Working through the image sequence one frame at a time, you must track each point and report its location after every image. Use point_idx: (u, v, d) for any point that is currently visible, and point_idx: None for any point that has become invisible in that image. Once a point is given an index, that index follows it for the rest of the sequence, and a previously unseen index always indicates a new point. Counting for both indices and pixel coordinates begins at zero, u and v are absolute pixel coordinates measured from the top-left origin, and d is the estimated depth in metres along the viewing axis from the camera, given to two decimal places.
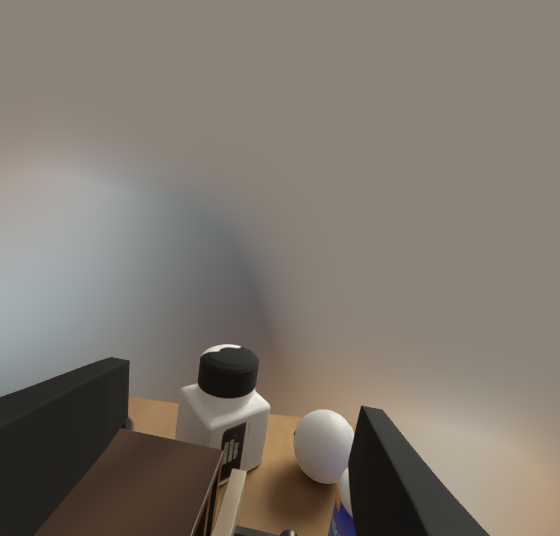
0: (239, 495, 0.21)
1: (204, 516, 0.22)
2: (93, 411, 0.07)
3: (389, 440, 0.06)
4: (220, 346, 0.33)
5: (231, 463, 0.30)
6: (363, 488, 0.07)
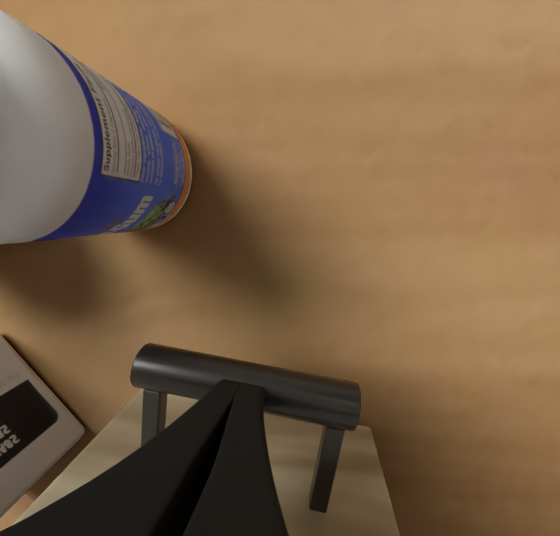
0: None
1: None
2: None
3: (240, 410, 0.07)
4: None
5: (11, 418, 0.14)
6: None
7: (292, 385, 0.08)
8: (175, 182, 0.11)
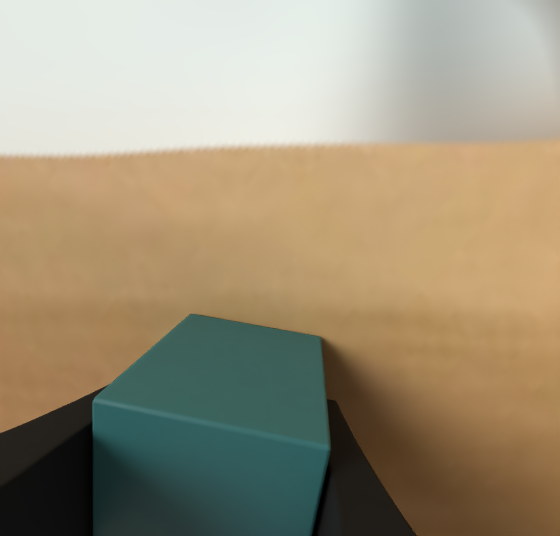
0: None
1: None
2: None
3: (331, 428, 0.07)
4: None
5: None
6: None
7: None
8: None
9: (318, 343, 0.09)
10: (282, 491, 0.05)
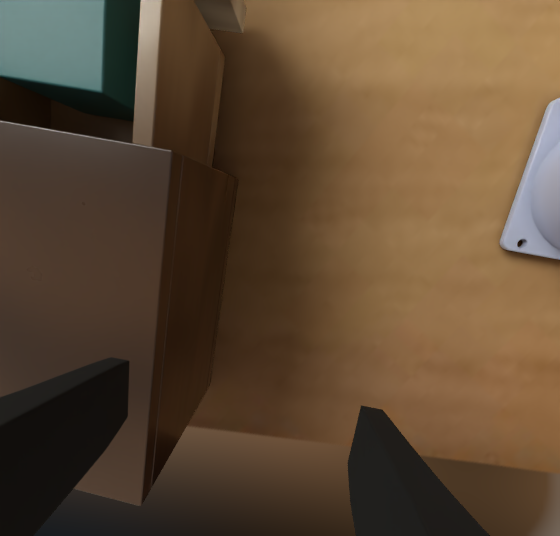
0: None
1: None
2: (94, 411, 0.07)
3: (389, 440, 0.06)
4: None
5: None
6: (362, 488, 0.07)
7: None
8: None
9: None
10: None
